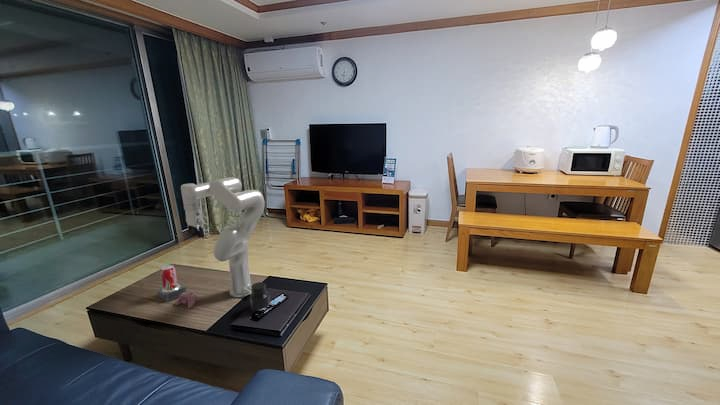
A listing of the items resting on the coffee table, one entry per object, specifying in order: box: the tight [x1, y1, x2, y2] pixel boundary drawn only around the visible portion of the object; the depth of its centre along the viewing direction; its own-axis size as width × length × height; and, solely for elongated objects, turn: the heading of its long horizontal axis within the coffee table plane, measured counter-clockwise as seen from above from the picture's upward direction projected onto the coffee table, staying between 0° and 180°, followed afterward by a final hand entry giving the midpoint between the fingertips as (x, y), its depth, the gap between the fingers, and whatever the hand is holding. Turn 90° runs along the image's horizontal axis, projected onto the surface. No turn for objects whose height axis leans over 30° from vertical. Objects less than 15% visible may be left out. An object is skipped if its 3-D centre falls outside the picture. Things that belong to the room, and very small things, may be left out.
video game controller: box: [175, 291, 198, 309], centre depth 153 cm, size 10×5×7 cm, turn 72°
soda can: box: [159, 264, 179, 290], centre depth 160 cm, size 7×7×12 cm
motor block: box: [156, 282, 187, 303], centre depth 163 cm, size 15×10×4 cm
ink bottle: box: [249, 281, 271, 312], centre depth 148 cm, size 10×9×12 cm
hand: (196, 235), depth 170 cm, fingers open, 9 cm apart
